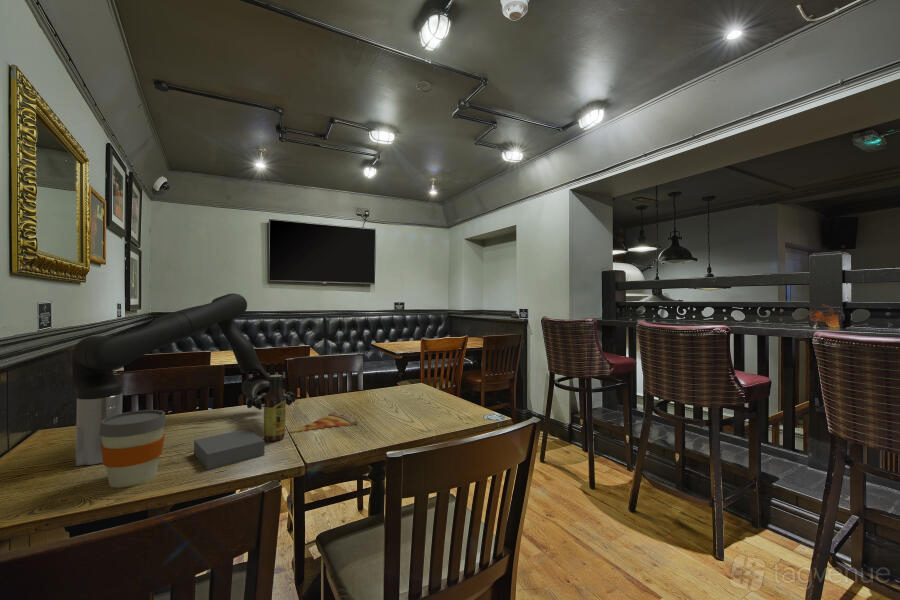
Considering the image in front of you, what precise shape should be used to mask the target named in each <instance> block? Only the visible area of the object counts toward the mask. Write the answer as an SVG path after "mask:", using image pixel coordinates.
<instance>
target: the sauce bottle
mask: <svg viewBox="0 0 900 600" xmlns="http://www.w3.org/2000/svg"><path fill="white" fill-rule="evenodd" d="M283 380H284V378H283V375H282V374H272V375H269V392H268V393H267V395H266V397H265V406H264V407H263V440H264V441H266V442H277V441H280V440H283V439H284V438H285V433H286V413H287V412H286V410H287V409H286V408H287V407H286V406H287V404H286V398H285V396H284V391H283Z"/></svg>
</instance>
